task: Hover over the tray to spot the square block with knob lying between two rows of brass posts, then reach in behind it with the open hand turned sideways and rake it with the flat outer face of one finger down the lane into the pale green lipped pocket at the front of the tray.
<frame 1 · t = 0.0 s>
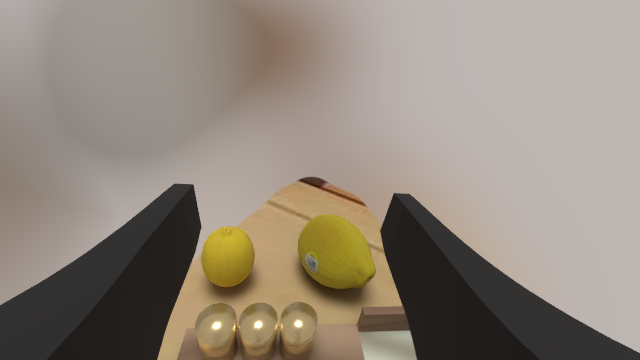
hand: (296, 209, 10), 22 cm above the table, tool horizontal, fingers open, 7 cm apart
lemon 2: (329, 275, 35), on the table
lemon: (230, 282, 32), on the table
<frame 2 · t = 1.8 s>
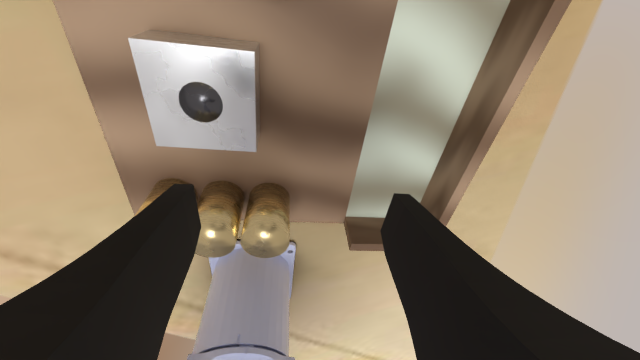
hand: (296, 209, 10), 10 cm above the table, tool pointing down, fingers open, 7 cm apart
spacers: (294, 107, 18), resting on tray
tray: (294, 107, 18), on the table
square block with knob: (211, 88, 16), point 1 cm above the table, touching tray
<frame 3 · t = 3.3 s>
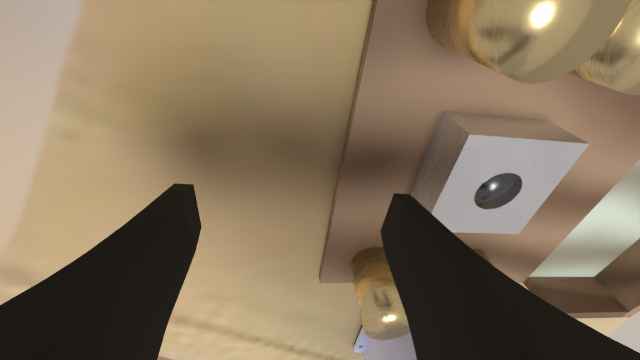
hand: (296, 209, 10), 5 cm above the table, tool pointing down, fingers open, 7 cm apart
spacers: (534, 177, 17), resting on tray
tray: (534, 177, 17), on the table
square block with knob: (471, 164, 15), point 1 cm above the table, touching tray
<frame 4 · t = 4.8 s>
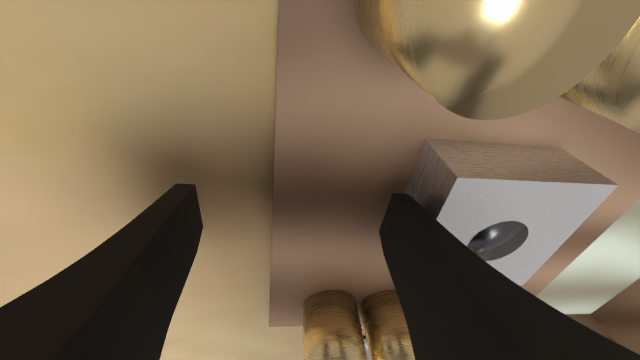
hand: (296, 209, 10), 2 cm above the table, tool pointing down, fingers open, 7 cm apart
spacers: (518, 210, 14), resting on tray
tray: (518, 210, 14), on the table
square block with knob: (464, 199, 12), point 1 cm above the table, touching gripper
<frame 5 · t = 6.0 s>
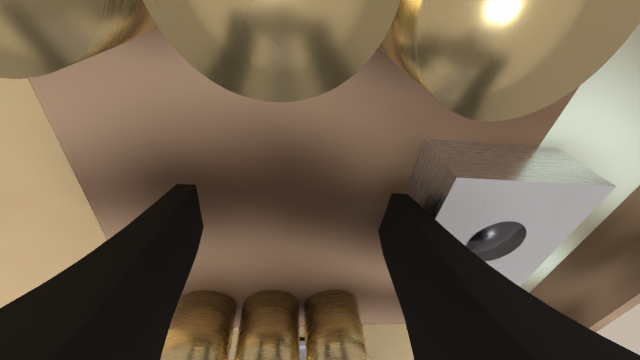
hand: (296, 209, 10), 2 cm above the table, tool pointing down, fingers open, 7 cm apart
spacers: (384, 205, 13), resting on tray
tray: (384, 205, 13), on the table
square block with knob: (462, 199, 12), point 1 cm above the table, touching tray, gripper
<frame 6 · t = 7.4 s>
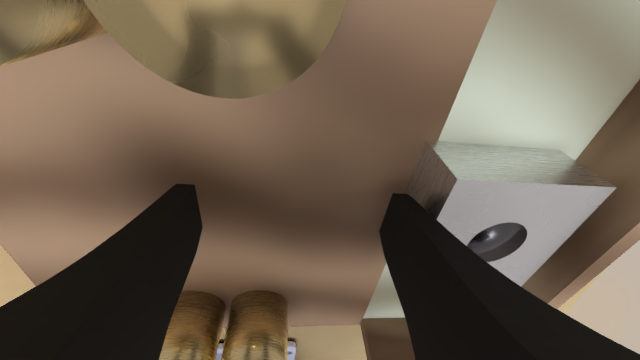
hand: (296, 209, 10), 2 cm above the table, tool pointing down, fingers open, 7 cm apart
spacers: (294, 201, 12), resting on tray
tray: (294, 201, 12), on the table
square block with knob: (463, 200, 12), point 1 cm above the table, touching tray, gripper
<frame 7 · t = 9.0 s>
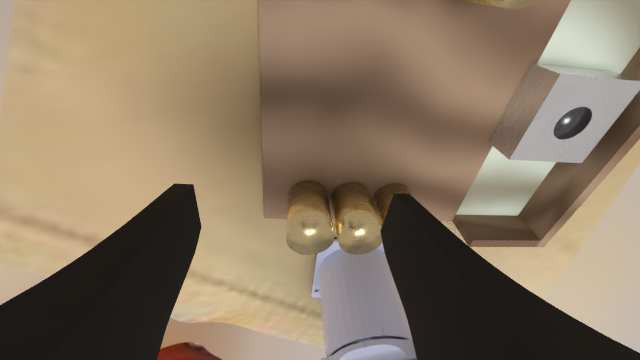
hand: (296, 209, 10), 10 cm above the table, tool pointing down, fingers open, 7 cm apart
spacers: (436, 111, 19), resting on tray
tray: (436, 111, 19), on the table
square block with knob: (544, 108, 19), point 1 cm above the table, touching tray
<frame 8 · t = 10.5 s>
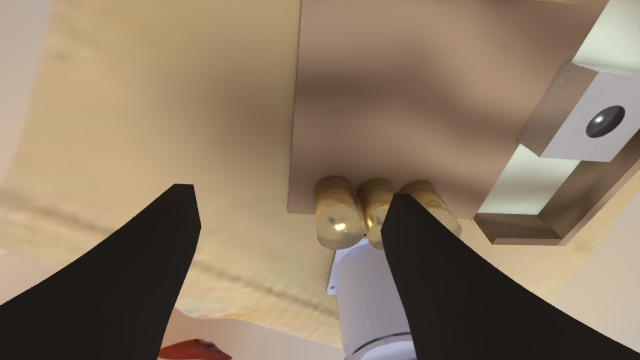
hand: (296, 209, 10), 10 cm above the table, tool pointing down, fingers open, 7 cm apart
spacers: (467, 108, 19), resting on tray
tray: (467, 108, 19), on the table
square block with knob: (573, 107, 19), point 1 cm above the table, touching tray
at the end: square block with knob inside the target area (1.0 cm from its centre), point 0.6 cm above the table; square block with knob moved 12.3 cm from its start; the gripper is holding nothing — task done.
